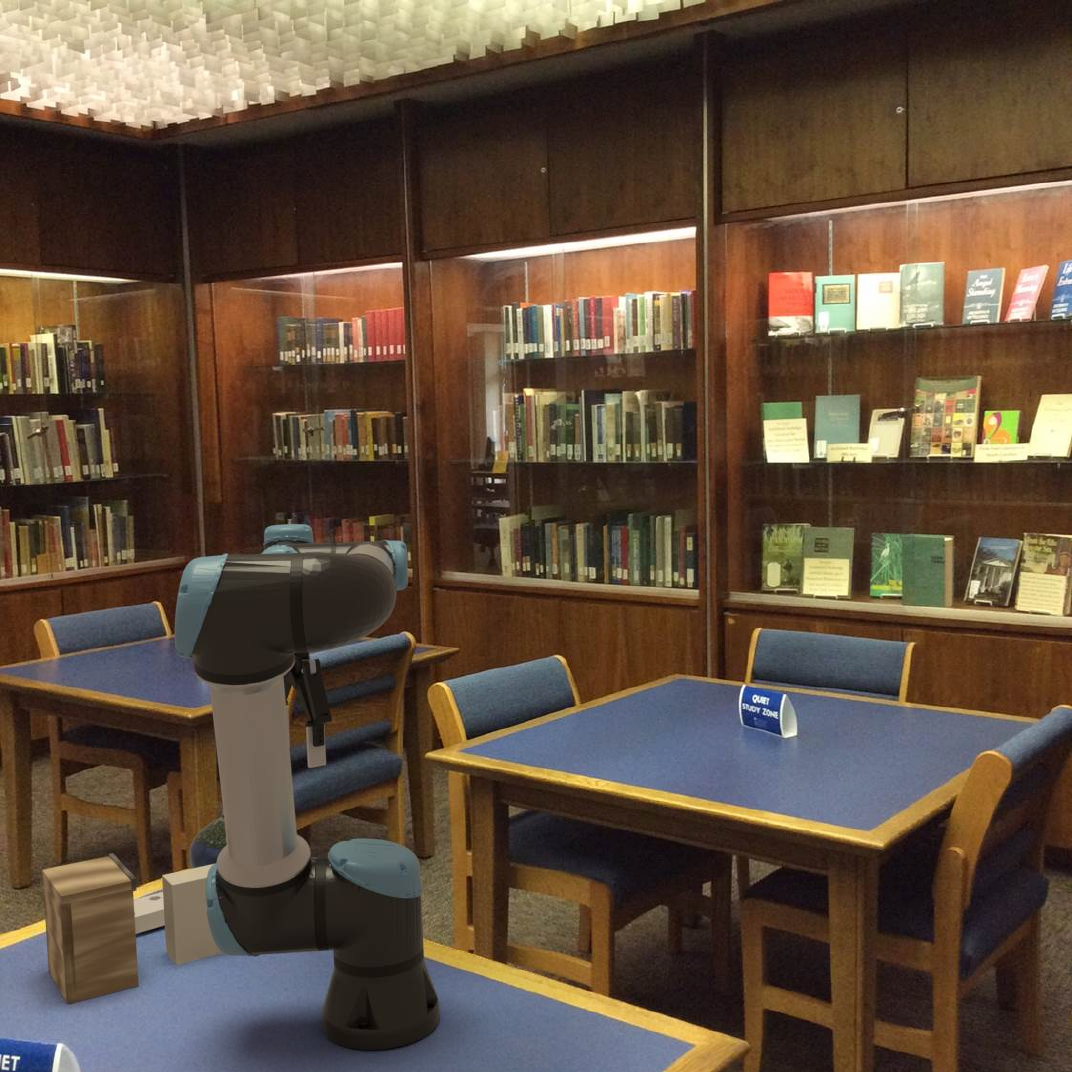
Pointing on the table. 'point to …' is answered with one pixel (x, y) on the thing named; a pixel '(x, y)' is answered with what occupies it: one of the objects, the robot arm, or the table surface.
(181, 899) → the tan cardboard carton
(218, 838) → the vase
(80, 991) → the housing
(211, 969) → the table surface
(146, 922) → the bracket
